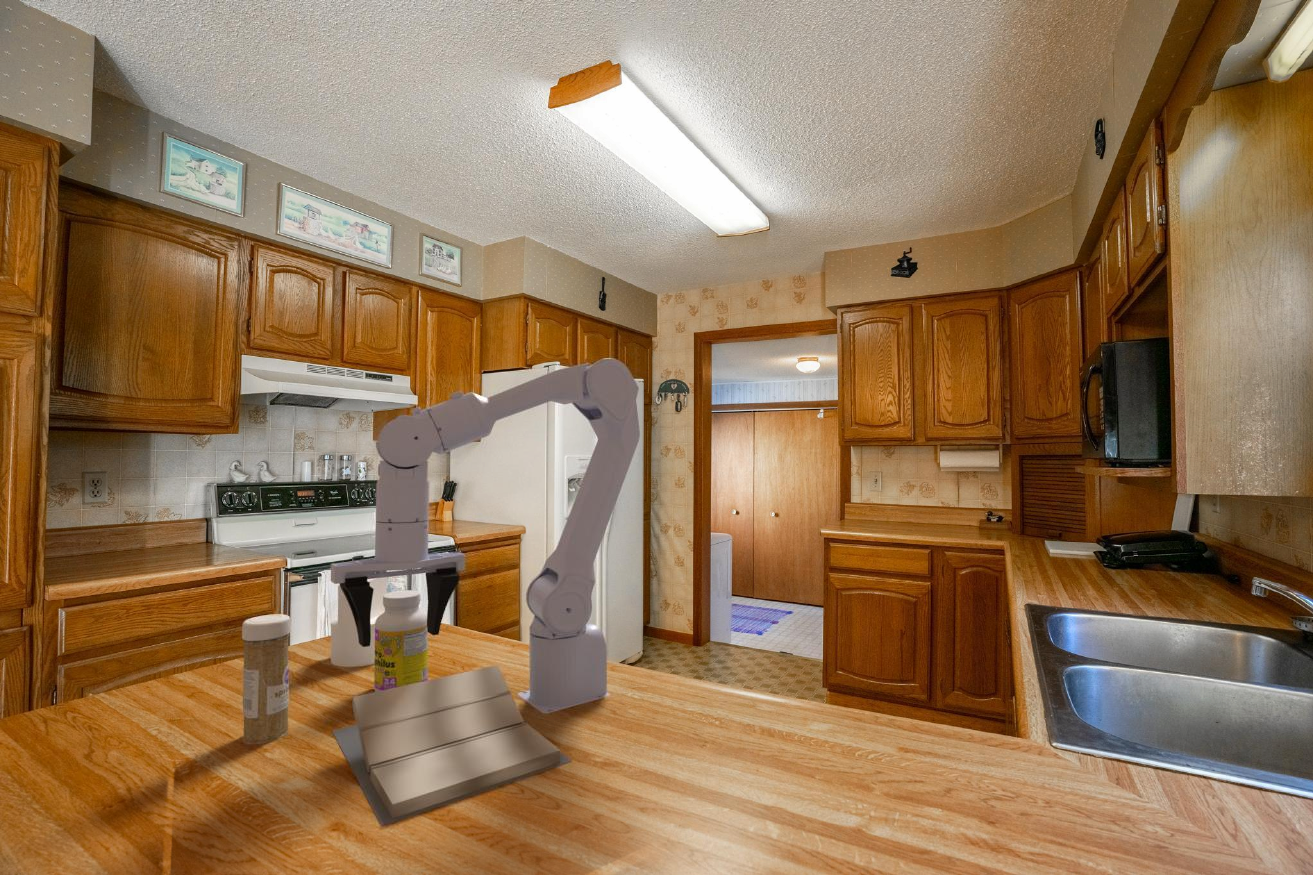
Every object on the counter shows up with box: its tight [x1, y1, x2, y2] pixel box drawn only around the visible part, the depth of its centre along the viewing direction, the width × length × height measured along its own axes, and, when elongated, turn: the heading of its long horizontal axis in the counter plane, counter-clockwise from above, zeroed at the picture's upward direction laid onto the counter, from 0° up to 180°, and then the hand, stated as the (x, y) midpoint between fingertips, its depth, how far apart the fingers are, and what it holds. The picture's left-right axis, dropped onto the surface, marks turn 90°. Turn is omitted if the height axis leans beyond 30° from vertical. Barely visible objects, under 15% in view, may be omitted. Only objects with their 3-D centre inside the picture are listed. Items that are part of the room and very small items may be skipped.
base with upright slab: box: [330, 577, 388, 668], centre depth 98 cm, size 9×9×12 cm
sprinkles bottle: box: [241, 613, 291, 745], centre depth 70 cm, size 5×5×14 cm
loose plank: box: [351, 664, 525, 773], centre depth 68 cm, size 16×8×1 cm, turn 127°
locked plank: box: [371, 722, 561, 818], centre depth 61 cm, size 16×8×1 cm, turn 127°
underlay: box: [331, 724, 572, 827], centre depth 67 cm, size 18×22×1 cm
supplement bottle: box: [373, 589, 429, 692], centre depth 84 cm, size 7×7×13 cm
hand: (399, 638), depth 73 cm, fingers open, 7 cm apart
